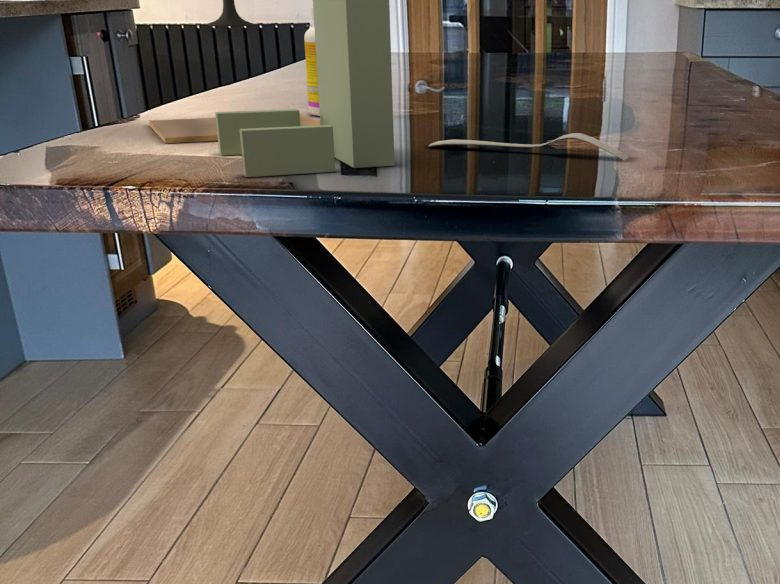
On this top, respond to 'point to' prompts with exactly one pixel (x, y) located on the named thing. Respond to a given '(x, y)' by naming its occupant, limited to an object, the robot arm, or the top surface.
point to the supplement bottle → (312, 70)
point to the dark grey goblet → (230, 16)
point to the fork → (573, 135)
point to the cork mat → (197, 129)
